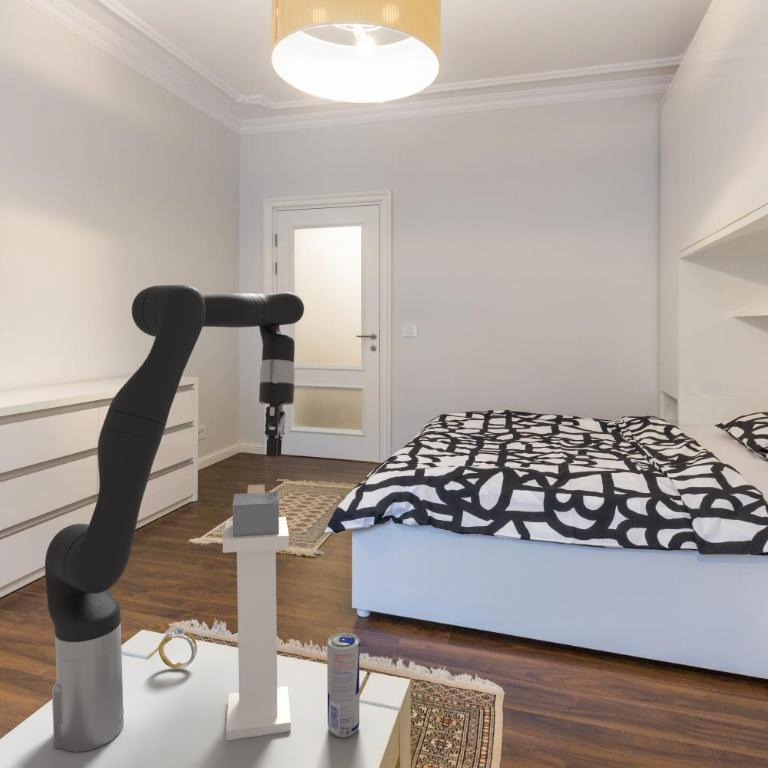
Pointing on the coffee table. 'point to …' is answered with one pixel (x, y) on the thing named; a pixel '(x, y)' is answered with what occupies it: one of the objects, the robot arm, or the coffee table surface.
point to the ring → (177, 634)
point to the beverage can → (343, 684)
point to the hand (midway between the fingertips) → (274, 456)
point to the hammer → (255, 512)
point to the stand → (257, 637)
